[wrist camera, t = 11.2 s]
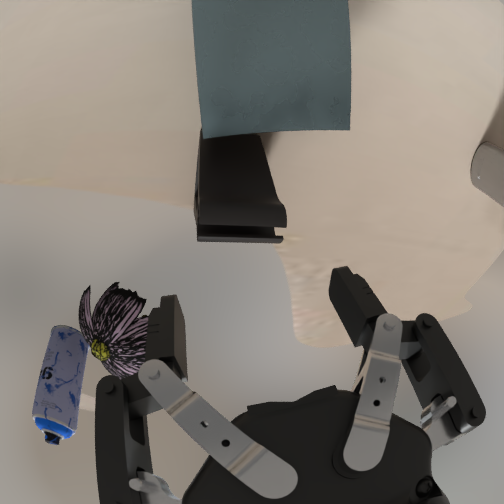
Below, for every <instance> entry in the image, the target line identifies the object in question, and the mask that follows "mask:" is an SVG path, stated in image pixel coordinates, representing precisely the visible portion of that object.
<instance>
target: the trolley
mask: <svg viewBox="0 0 504 504" xmlns="http://www.w3.org/2000/svg"><path fill="white" fill-rule="evenodd" d="M192 17H193V32H194V47H195V59H196V71H197V83H198V93H199V104H200V113H201V123H202V132H203V139H205V138H213V137H221V136H229V135H239V134H249V133H261V132H277V131H299V130H350V112H351V42H350V22H349V9H348V0H192Z"/></svg>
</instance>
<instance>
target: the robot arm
mask: <svg viewBox="0 0 504 504" xmlns="http://www.w3.org/2000/svg"><path fill="white" fill-rule="evenodd" d="M471 179H472V183H473V185H474V186H475V187H476V188H478V189H479V190H481V191H482V192H484V193H485V194H486V195H488V196H489V197H490V198H492V199H493V200H495V201H496V202H497V203H499V204H500V205H501V206H503V207H504V150H503V149H501V148H499V147H497V146H495V145H493V144H491V143H489V142H485V143H483V144H482V145H481V146H480V147H479V148H478V149H477V151H476V153H475V156H474V158H473V162H472V167H471ZM329 297H330V300H331V302H332V304H333V306H334V308H335V310H336V312H337V313H338V315H339V317H340V319H341V321H342V323H343V325H344V327H345V329H346V331H347V333H348V335H349V337H350V339H351V340H352V342H353V344H354V346H355V347H358V346H361V345H362V346H363V348H364V350H363V353H362V357H361V361H360V364H359V368H358V371H357V375H356V378H355V381H354V384H353V386H352V388H351V391H347V390H337V388H336V386H335V385H333V386H330V387H326V388H323V389H320V390H316V391H313V392H312V393H310V394H308V395H306V396H304V397H302V398H300V399H299V400H297V401H294V402H266V403H261V404H256V405H250V406H247V409H248V411H247V412H245V413H242V414H241V415H239V416H237V417H236V418H235V419H233V420H232V421H231V422H229V421H228V420H227V419H226V418H225V417H224V416H222V415H221V414H220V413H219V412H218V411H217V410H215V409H214V408H213V407H212V406H211V405H210V404H209V403H208V402H206V401H205V400H204V399H203V398H202V397H201V396H200V395H199V394H197V393H196V392H193V391H192V390H191V389H190V388H189V387H188V386H186V385H185V383H183V382H186V381H188V376H187V358H186V335H185V320H184V316H183V313H182V310H181V307H180V304H179V301H178V298H177V295H168V296H162V297H161V303H160V307H158V308H153V309H152V311H151V313H150V315H149V316H148V327H147V337H146V351H145V362H144V364H142V366H141V367H140V369H139V371H138V372H136V373H135V374H133V375H130V376H128V377H125V378H122V379H120V378H118V377H117V376H114V375H108V376H105V377H103V378H102V379H101V380H100V381H99V383H98V384H97V388H96V404H95V450H96V451H95V453H96V470H97V482H98V491H99V500H100V504H450V503H449V500H448V498H447V497H446V495H445V494H444V493H443V492H442V490H441V489H440V488H439V487H438V485H437V484H436V482H435V481H434V479H433V477H432V471H431V458H432V451H434V450H435V449H437V448H439V447H440V446H442V445H448V444H449V443H451V442H453V441H454V440H457V439H458V438H460V437H462V436H463V435H465V434H467V433H468V432H470V431H471V430H473V429H474V428H476V427H477V426H479V425H480V424H482V423H483V421H484V419H485V415H486V410H485V406H484V404H483V402H482V400H481V398H480V396H479V394H478V392H477V390H476V388H475V386H474V384H473V382H472V380H471V378H470V376H469V374H468V372H467V370H466V368H465V367H464V365H463V363H462V361H461V359H460V358H459V356H458V354H457V352H456V351H455V349H454V347H453V346H452V344H451V342H450V341H449V339H448V337H447V336H446V334H445V333H444V331H443V329H442V328H441V326H440V324H439V323H438V321H437V320H436V319H435V317H433V316H432V315H430V314H427V313H422V314H420V315H418V316H417V318H416V320H415V321H401V320H400V319H399V318H398V317H397V316H395V315H393V314H389V313H387V311H386V310H385V308H384V307H383V305H382V304H381V302H380V301H379V299H378V298H377V297H376V295H375V294H374V293H373V291H372V289H371V288H370V287H369V285H368V283H367V282H366V281H365V279H364V278H362V277H361V276H359V275H358V274H354V275H353V273H352V272H351V270H350V269H349V267H347V266H344V267H339V268H334V269H333V270H332V274H331V280H330V286H329ZM401 363H402V365H403V367H404V369H405V370H406V373H407V375H408V377H409V379H410V381H411V384H412V386H413V388H414V390H415V392H416V395H417V397H418V399H419V402H420V404H421V406H422V408H423V411H422V413H421V421H420V424H421V426H422V429H421V428H420V427H418V426H416V425H414V424H412V423H410V422H408V421H406V420H404V419H403V418H401V417H399V416H397V415H395V414H393V413H392V410H393V406H394V401H395V397H396V392H397V387H398V381H399V375H400V369H401ZM163 408H164V410H166V412H167V413H168V414H169V415H170V416H171V417H172V418H173V419H174V420H175V421H176V423H178V425H179V426H180V427H181V428H183V430H184V431H185V432H186V433H187V434H188V435H189V436H190V437H191V438H192V439H193V440H194V441H196V442H197V443H198V444H199V445H200V446H201V447H202V448H203V449H204V450H205V451H206V452H207V453H208V454H210V455H209V456H208V458H207V459H206V461H205V463H204V464H203V466H202V467H201V469H200V470H199V472H198V473H197V475H196V477H195V478H194V479H193V481H192V482H191V484H190V485H189V487H188V489H187V490H186V491H185V493H184V495H183V498H182V499H179V498H177V497H176V496H174V495H173V494H172V492H171V491H170V489H169V486H168V484H167V482H166V481H165V480H164V479H163V478H161V477H159V476H156V475H154V474H153V469H152V462H151V455H150V446H149V437H148V427H147V414H150V413H153V412H155V411H158V410H160V409H163Z"/></svg>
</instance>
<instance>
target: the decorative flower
mask: <svg viewBox="0 0 504 504" xmlns="http://www.w3.org/2000/svg"><path fill="white" fill-rule="evenodd" d="M118 283H119V282H115V283H114V284H112V285H111V286H110V287H109V288H108V289H107V290H106V291H105V292H104V294H103V295H102V296H101V298H100V299H99V301H98V303H97V304H96V306H95V309H94V312H93V315H92V317H91V312H90V286H89V287H88V288H87V289H86V290H85V291H84V293H83V295H82V297H81V301H80V306H79V324H80V329H81V332H82V335H83V337H84V339H85V341H86V342H87V343H88V345H89V346H90V347H91V351H92V354H93V355H94V356H95V357H96V358H98V359H99V360H100V361H101V362H102V364H103V365H104V367H105V368H106V369H107V370H108V372H110V373H111V374H112V375H114V376H117V377H118V378H120V379H122V378H125V377H128V376H130V375H133V374H135V373H136V372H138V371H139V369H140V367H141V366H142V364H144V362H145V351H146V337H147V327H148V316H147V315H143V316H142V317H140V318H137V317H138V315H139V314H140V313H141V311H142V309H143V307H144V305H145V303H146V299H143V298H140V297H139V296H138V295H137V292H136V291H135V292H132V291H131V290H130V289H129V290H125V289H123V288H120V289H119V288H118V287H119V286H118ZM136 318H137V319H136Z"/></svg>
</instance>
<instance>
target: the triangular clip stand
mask: <svg viewBox="0 0 504 504" xmlns="http://www.w3.org/2000/svg"><path fill="white" fill-rule="evenodd" d="M194 216H195V220H196V225H197V241H199V242H242V243H281V242H282V241H283V236H276V235H275V231H274V227H281V228H286V227H287V215H286V210H285V207H284V205H283V204H282V203H281V202H280V201H279V199H278V197H277V194H276V190H275V187H274V183H273V179H272V176H271V172H270V169H269V165H268V162H267V158H266V155H265V152H264V148H263V145H262V141H261V138H260V136H258V135H249V134H239V135H229V136H221V137H213V138H205V139H203V132H202V131H201V130H200V139H199V149H198V159H197V171H196V183H195V197H194Z"/></svg>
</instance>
